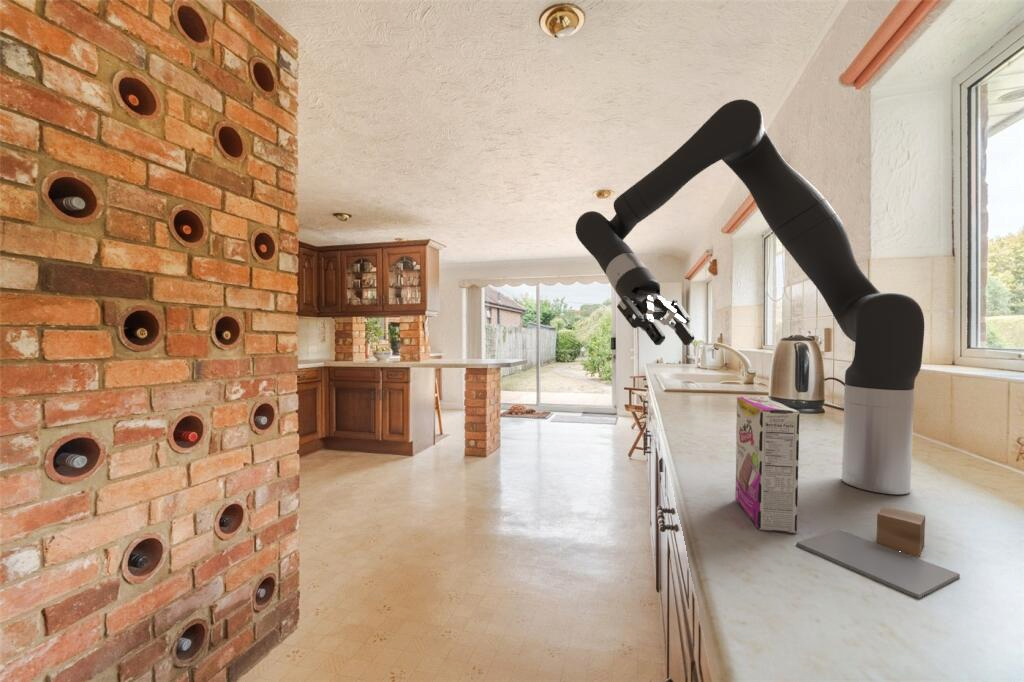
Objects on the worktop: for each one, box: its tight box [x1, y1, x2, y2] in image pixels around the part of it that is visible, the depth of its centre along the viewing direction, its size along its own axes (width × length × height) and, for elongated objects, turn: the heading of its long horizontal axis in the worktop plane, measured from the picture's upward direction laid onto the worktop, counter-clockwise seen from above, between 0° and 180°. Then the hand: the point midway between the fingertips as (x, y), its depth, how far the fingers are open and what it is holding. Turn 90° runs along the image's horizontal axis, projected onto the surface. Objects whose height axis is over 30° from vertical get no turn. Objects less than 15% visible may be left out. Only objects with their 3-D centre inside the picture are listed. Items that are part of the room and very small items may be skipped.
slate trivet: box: [795, 528, 960, 599], centre depth 52 cm, size 9×12×1 cm
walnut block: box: [875, 505, 926, 558], centre depth 55 cm, size 4×4×4 cm
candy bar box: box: [734, 396, 801, 534], centre depth 63 cm, size 11×5×16 cm, turn 168°
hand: (676, 341), depth 78 cm, fingers open, 6 cm apart
